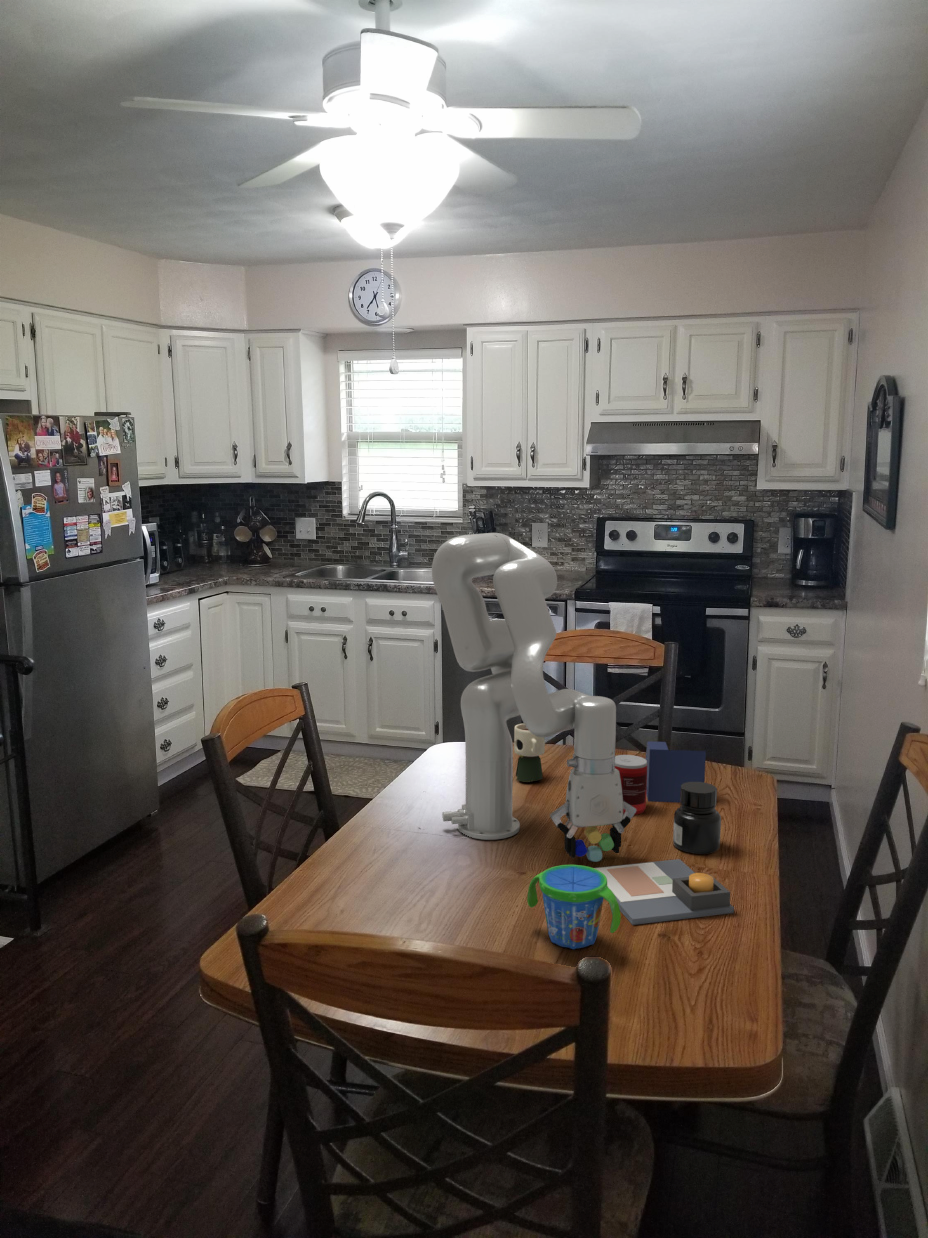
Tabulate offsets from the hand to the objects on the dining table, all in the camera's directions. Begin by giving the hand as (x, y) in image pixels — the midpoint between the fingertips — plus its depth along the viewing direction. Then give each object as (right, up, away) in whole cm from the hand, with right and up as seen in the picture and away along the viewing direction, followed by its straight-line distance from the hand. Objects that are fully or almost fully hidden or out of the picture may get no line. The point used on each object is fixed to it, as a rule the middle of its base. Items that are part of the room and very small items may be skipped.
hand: (592, 852), depth 179 cm
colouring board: (+9, -4, -14) cm, 17 cm away
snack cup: (-7, -6, -30) cm, 31 cm away
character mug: (-9, +6, +45) cm, 46 cm away
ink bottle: (+21, -1, +6) cm, 22 cm away
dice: (0, -1, 0) cm, 2 cm away
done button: (+16, -2, -19) cm, 24 cm away
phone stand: (+23, +4, +36) cm, 43 cm away
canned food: (+11, +3, +26) cm, 29 cm away
